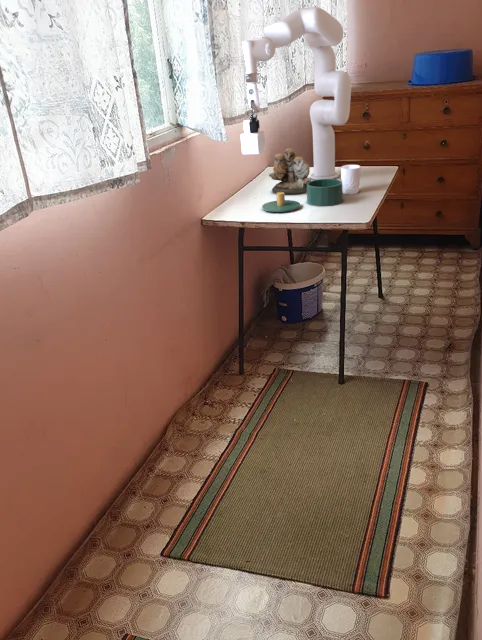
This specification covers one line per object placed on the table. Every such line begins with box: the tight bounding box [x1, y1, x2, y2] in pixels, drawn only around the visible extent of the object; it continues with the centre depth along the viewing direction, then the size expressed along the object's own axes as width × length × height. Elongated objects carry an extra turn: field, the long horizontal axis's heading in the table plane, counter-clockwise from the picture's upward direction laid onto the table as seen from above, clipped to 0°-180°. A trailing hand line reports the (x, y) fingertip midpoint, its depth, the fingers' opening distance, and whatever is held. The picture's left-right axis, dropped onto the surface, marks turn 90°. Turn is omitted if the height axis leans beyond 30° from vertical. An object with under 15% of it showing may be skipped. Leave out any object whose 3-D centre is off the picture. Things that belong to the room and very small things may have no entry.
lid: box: [261, 191, 301, 213], centre depth 230 cm, size 15×15×6 cm
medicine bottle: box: [239, 118, 266, 155], centre depth 231 cm, size 7×7×12 cm
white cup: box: [340, 164, 362, 195], centre depth 243 cm, size 8×8×10 cm
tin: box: [306, 178, 344, 207], centre depth 234 cm, size 14×14×7 cm
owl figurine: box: [268, 147, 312, 196], centre depth 249 cm, size 18×12×17 cm, turn 76°
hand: (251, 130), depth 230 cm, fingers closed on medicine bottle, 6 cm apart
